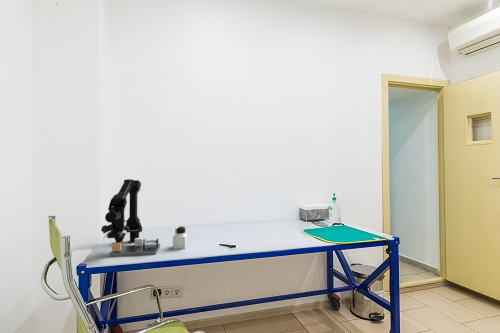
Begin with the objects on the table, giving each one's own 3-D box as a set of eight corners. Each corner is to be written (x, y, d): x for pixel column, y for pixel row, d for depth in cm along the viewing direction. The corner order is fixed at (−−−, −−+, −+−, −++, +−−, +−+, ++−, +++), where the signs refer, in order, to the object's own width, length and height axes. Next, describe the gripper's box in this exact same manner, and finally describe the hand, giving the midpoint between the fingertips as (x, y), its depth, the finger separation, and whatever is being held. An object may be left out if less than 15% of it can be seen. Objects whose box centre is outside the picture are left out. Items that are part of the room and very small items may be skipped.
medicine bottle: (187, 245, 167) (187, 225, 167) (185, 248, 160) (184, 228, 160) (175, 245, 167) (175, 225, 167) (172, 248, 160) (172, 228, 160)
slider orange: (114, 250, 151) (114, 242, 151) (121, 249, 151) (121, 242, 151) (112, 251, 148) (112, 244, 148) (119, 251, 148) (119, 243, 148)
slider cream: (136, 244, 161) (136, 238, 161) (143, 244, 161) (143, 237, 161) (134, 246, 158) (134, 239, 158) (141, 246, 158) (141, 239, 158)
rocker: (147, 243, 161) (147, 240, 161) (157, 242, 162) (157, 240, 162) (142, 243, 150) (143, 240, 151) (154, 242, 151) (154, 240, 151)
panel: (117, 249, 160) (117, 238, 160) (160, 247, 164) (160, 236, 164) (109, 256, 146) (109, 244, 146) (156, 254, 150) (155, 242, 150)
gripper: (109, 216, 161) (109, 243, 161) (96, 223, 143) (96, 252, 142) (129, 216, 163) (129, 242, 163) (119, 222, 144) (119, 251, 144)
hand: (118, 247), depth 153 cm, fingers closed
